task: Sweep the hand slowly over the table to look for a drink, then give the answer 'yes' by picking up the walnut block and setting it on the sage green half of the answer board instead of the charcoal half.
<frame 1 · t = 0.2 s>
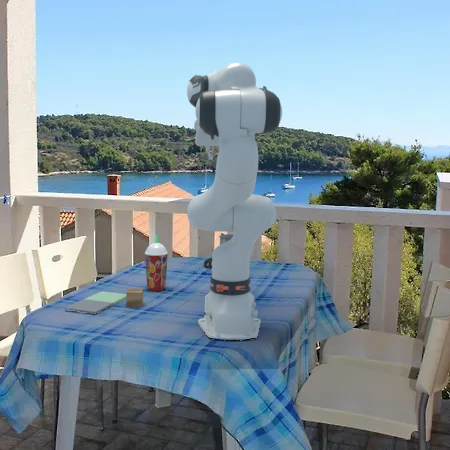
hand: (224, 160, 196), 48 cm above the table, tool pointing down, fingers open, 8 cm apart
answer board: (98, 303, 191), on the table
walnut block: (134, 305, 190), on the table
smoothie: (156, 289, 211), on the table
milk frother: (221, 269, 246), on the table
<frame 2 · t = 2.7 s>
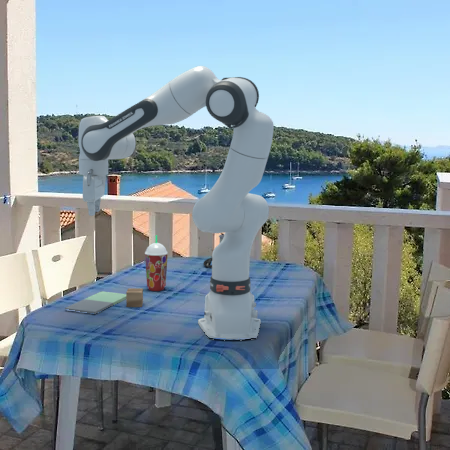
hand: (94, 213, 179), 31 cm above the table, tool pointing down, fingers open, 8 cm apart
nothing on the table moved.
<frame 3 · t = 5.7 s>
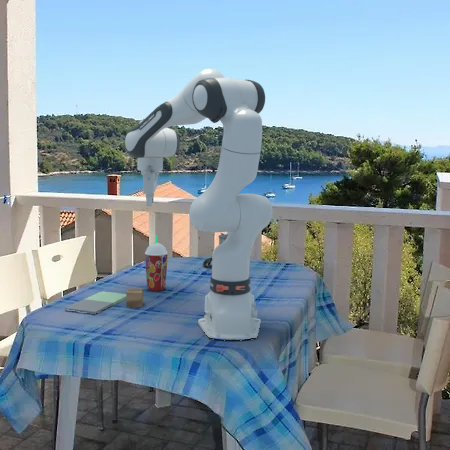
hand: (150, 204, 204), 31 cm above the table, tool pointing down, fingers open, 8 cm apart
nothing on the table moved.
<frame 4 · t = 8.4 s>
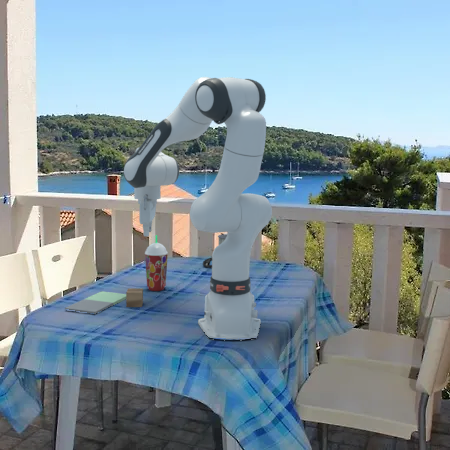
hand: (147, 233, 197), 22 cm above the table, tool pointing down, fingers open, 8 cm apart
nothing on the table moved.
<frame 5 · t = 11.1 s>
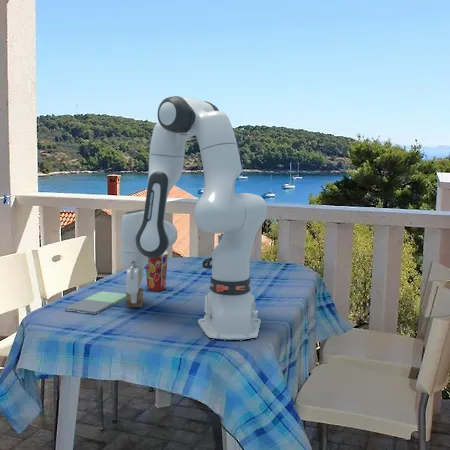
hand: (134, 299, 190), 2 cm above the table, tool pointing down, fingers closed on walnut block, 5 cm apart
walnut block: (134, 304, 190), on the table, touching gripper
everything else where it was.
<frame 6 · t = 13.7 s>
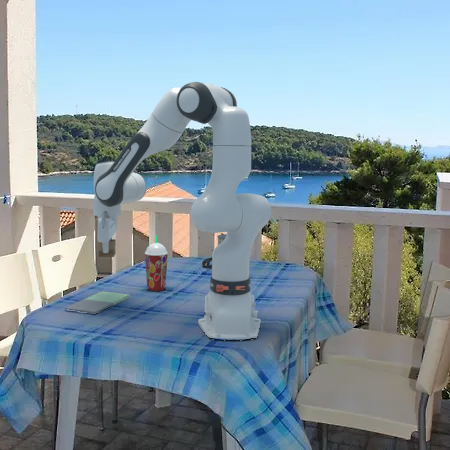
hand: (107, 250, 193), 17 cm above the table, tool pointing down, fingers closed on walnut block, 5 cm apart
walnut block: (107, 255, 193), point 15 cm above the table, touching gripper
everything else where it was.
when the fingers open (4 cm above the table, at t = 16.6 s): walnut block stays where it is, resting on answer board.
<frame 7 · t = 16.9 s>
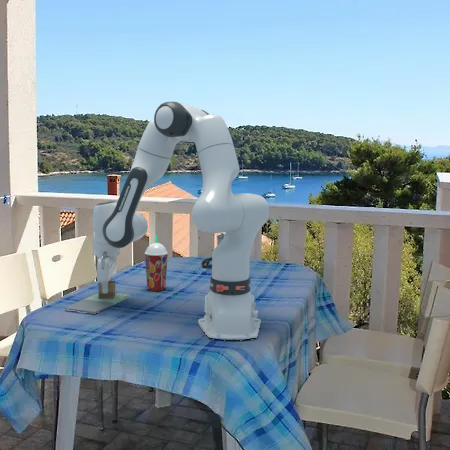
hand: (107, 289, 195), 4 cm above the table, tool pointing down, fingers open, 8 cm apart
walnut block: (107, 296, 196), point 1 cm above the table, touching answer board
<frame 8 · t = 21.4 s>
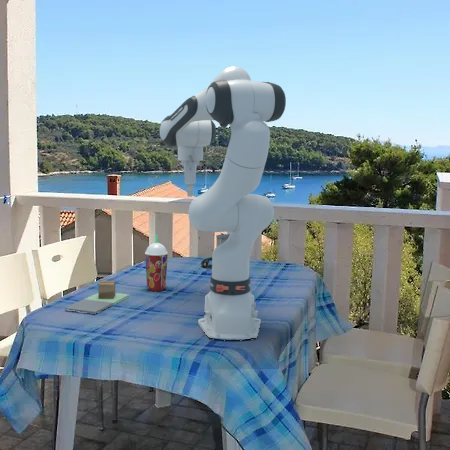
hand: (190, 195, 202), 35 cm above the table, tool pointing down, fingers open, 8 cm apart
at the end: walnut block 0.0 cm from the target spot on the answer board, point 1.0 cm above the answer board's base; the gripper is holding nothing; smoothie moved 0.2 cm from its start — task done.
